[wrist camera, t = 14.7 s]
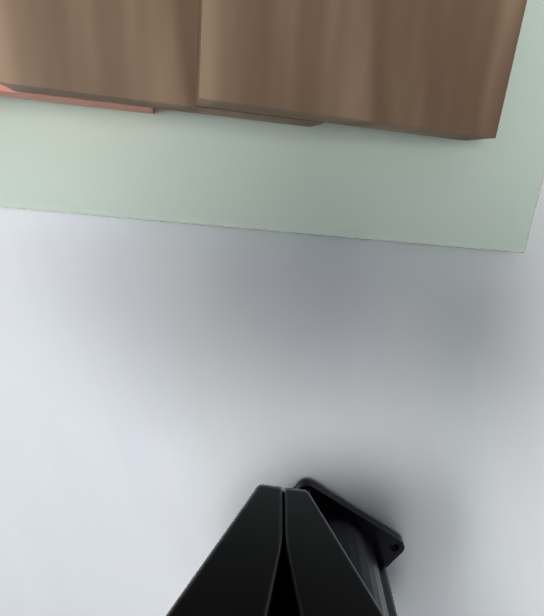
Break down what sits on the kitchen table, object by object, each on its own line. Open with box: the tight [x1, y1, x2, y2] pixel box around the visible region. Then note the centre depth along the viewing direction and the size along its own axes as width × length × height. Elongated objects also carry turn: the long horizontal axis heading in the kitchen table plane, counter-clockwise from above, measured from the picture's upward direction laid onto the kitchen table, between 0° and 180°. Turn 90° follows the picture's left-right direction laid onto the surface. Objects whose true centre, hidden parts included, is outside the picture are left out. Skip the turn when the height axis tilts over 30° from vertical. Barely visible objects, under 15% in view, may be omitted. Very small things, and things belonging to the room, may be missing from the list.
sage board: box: [0, 0, 544, 253], centre depth 16 cm, size 28×13×1 cm, turn 85°
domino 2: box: [196, 0, 527, 141], centre depth 13 cm, size 2×5×10 cm
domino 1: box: [0, 0, 325, 127], centre depth 13 cm, size 2×5×10 cm
